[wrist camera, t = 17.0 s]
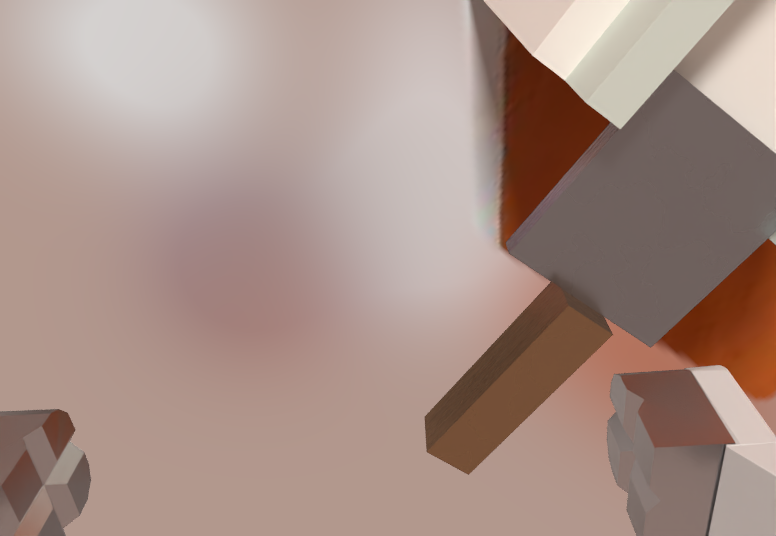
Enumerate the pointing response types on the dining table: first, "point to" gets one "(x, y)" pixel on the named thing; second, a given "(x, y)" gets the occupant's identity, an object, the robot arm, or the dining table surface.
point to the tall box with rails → (656, 52)
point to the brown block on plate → (616, 257)
